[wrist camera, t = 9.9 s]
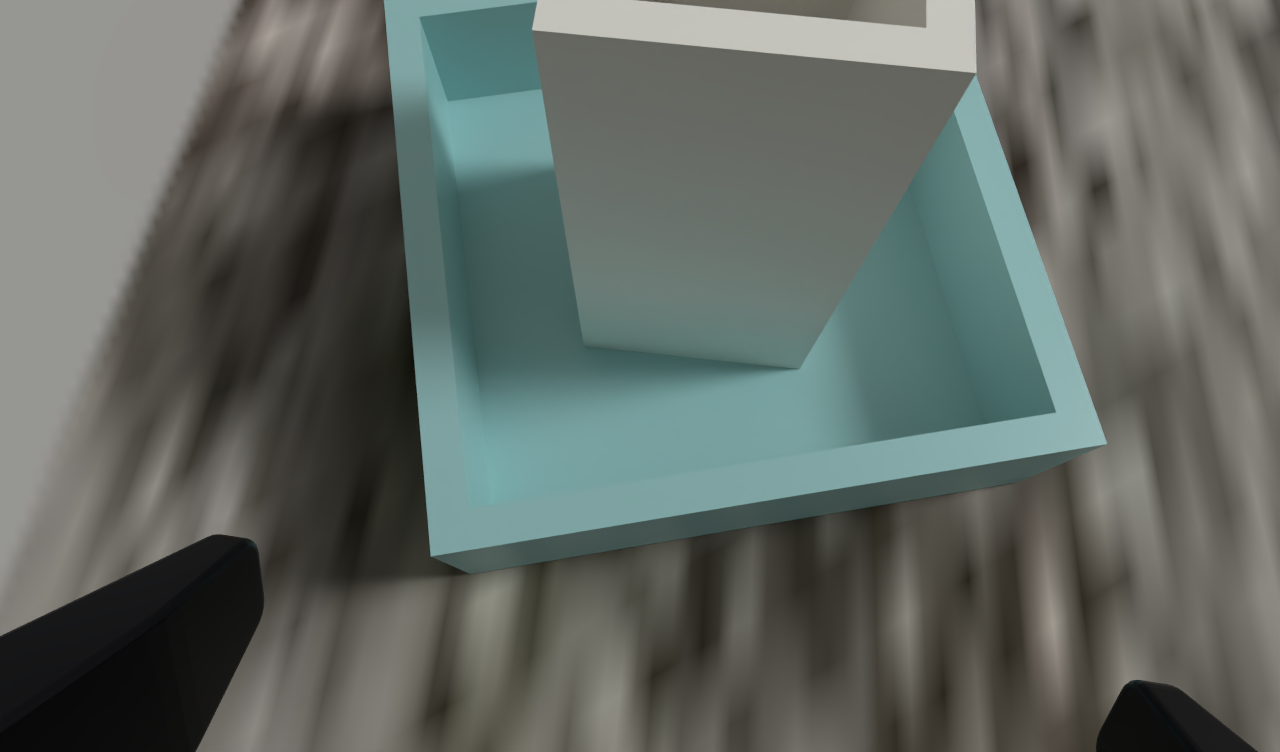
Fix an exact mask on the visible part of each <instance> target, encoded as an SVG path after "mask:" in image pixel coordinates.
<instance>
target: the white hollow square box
mask: <svg viewBox="0 0 1280 752" xmlns="http://www.w3.org/2000/svg"><path fill="white" fill-rule="evenodd" d="M532 34H533V40H534V46H535V52H536V58H537V64H538V70H539V76H540V82H541V88H542V94H543V101H544V107H545V113H546V119H547V125H548V131H549V137H550V143H551V149H552V155H553V161H554V167H555V174H556V180H557V186H558V192H559V198H560V204H561V210H562V216H563V222H564V228H565V234H566V240H567V247H568V253H569V259H570V265H571V271H572V277H573V283H574V289H575V295H576V301H577V307H578V313H579V320H580V326H581V332H582V338H583V344H584V346H588V347H597V348H606V349H615V350H625V351H634V352H643V353H653V354H662V355H671V356H681V357H690V358H699V359H709V360H718V361H727V362H737V363H746V364H755V365H765V366H774V367H783V368H793V369H800V367H801V366H802V364H803V362H804V361H805V359H806V357H807V356H808V354H809V352H810V351H811V349H812V347H813V346H814V344H815V342H816V341H817V339H818V337H819V336H820V334H821V332H822V330H823V329H824V327H825V325H826V324H827V322H828V320H829V319H830V317H831V315H832V314H833V312H834V310H835V309H836V307H837V305H838V304H839V302H840V300H841V299H842V297H843V295H844V294H845V292H846V290H847V289H848V287H849V285H850V284H851V282H852V280H853V279H854V277H855V275H856V274H857V272H858V270H859V269H860V267H861V265H862V264H863V262H864V260H865V259H866V257H867V255H868V254H869V252H870V250H871V249H872V247H873V245H874V244H875V242H876V240H877V239H878V237H879V235H880V233H881V232H882V230H883V228H884V227H885V225H886V223H887V222H888V220H889V218H890V217H891V215H892V213H893V212H894V210H895V208H896V207H897V205H898V203H899V202H900V200H901V198H902V197H903V195H904V193H905V192H906V190H907V188H908V187H909V185H910V183H911V182H912V180H913V178H914V177H915V175H916V173H917V172H918V170H919V168H920V167H921V165H922V163H923V162H924V160H925V158H926V157H927V155H928V153H929V152H930V150H931V148H932V147H933V145H934V143H935V142H936V140H937V138H938V136H939V135H940V133H941V131H942V130H943V128H944V126H945V125H946V123H947V121H948V120H949V118H950V116H951V115H952V113H953V111H954V110H955V108H956V106H957V105H958V103H959V101H960V100H961V98H962V96H963V95H964V93H965V91H966V90H967V88H968V86H969V85H970V83H971V81H972V80H973V78H974V76H975V75H976V33H975V0H537V6H536V11H535V16H534V22H533V27H532Z"/></svg>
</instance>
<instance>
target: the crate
mask: <svg viewBox="0 0 1280 752" xmlns="http://www.w3.org/2000/svg"><path fill="white" fill-rule="evenodd" d="M384 5H385V17H386V29H387V41H388V53H389V65H390V77H391V89H392V101H393V113H394V125H395V137H396V149H397V160H398V172H399V184H400V196H401V208H402V220H403V232H404V244H405V256H406V268H407V280H408V292H409V304H410V315H411V327H412V339H413V351H414V363H415V375H416V387H417V399H418V411H419V423H420V435H421V447H422V458H423V470H424V482H425V494H426V506H427V518H428V530H429V542H430V554H431V557H433V558H435V559H438V560H440V561H442V562H444V563H446V564H449V565H451V566H453V567H455V568H458V569H460V570H462V571H464V572H467V573H469V574H474V573H480V572H486V571H492V570H498V569H504V568H510V567H516V566H522V565H528V564H534V563H540V562H546V561H552V560H558V559H564V558H570V557H576V556H582V555H588V554H593V553H599V552H605V551H611V550H617V549H623V548H629V547H635V546H641V545H647V544H653V543H659V542H665V541H671V540H677V539H683V538H689V537H695V536H701V535H707V534H713V533H718V532H724V531H730V530H736V529H742V528H748V527H754V526H760V525H766V524H772V523H778V522H784V521H790V520H796V519H802V518H808V517H814V516H820V515H826V514H832V513H838V512H843V511H849V510H855V509H861V508H867V507H873V506H879V505H885V504H891V503H897V502H903V501H909V500H915V499H921V498H927V497H933V496H939V495H945V494H951V493H957V492H962V491H968V490H974V489H980V488H986V487H992V486H998V485H1004V484H1010V483H1016V482H1020V481H1022V480H1024V479H1027V478H1029V477H1031V476H1034V475H1036V474H1038V473H1041V472H1043V471H1045V470H1048V469H1050V468H1052V467H1055V466H1057V465H1059V464H1062V463H1064V462H1066V461H1069V460H1071V459H1073V458H1076V457H1078V456H1080V455H1083V454H1085V453H1087V452H1090V451H1092V450H1094V449H1097V448H1099V447H1101V446H1104V445H1106V444H1107V442H1106V439H1105V437H1104V434H1103V431H1102V428H1101V425H1100V422H1099V420H1098V417H1097V414H1096V411H1095V408H1094V406H1093V403H1092V400H1091V397H1090V394H1089V392H1088V389H1087V386H1086V383H1085V380H1084V378H1083V375H1082V372H1081V369H1080V366H1079V363H1078V361H1077V358H1076V355H1075V352H1074V349H1073V347H1072V344H1071V341H1070V338H1069V335H1068V333H1067V330H1066V327H1065V324H1064V321H1063V319H1062V316H1061V313H1060V310H1059V307H1058V305H1057V302H1056V299H1055V296H1054V293H1053V290H1052V288H1051V285H1050V282H1049V279H1048V276H1047V274H1046V271H1045V268H1044V265H1043V262H1042V260H1041V257H1040V254H1039V251H1038V248H1037V246H1036V243H1035V240H1034V237H1033V234H1032V231H1031V229H1030V226H1029V223H1028V220H1027V217H1026V215H1025V212H1024V209H1023V206H1022V203H1021V201H1020V198H1019V195H1018V192H1017V189H1016V187H1015V184H1014V181H1013V178H1012V175H1011V172H1010V170H1009V167H1008V164H1007V161H1006V158H1005V156H1004V153H1003V150H1002V147H1001V144H1000V142H999V139H998V136H997V133H996V130H995V128H994V125H993V122H992V119H991V116H990V113H989V111H988V108H987V105H986V102H985V99H984V97H983V94H982V91H981V88H980V85H979V83H978V80H977V77H976V75H975V76H974V78H973V80H972V81H971V83H970V85H969V86H968V88H967V90H966V91H965V93H964V95H963V96H962V98H961V100H960V101H959V103H958V105H957V106H956V108H955V110H954V111H953V113H952V115H951V116H950V118H949V120H948V121H947V123H946V125H945V126H944V128H943V130H942V131H941V133H940V135H939V136H938V138H937V140H936V142H935V143H934V145H933V147H932V148H931V150H930V152H929V153H928V155H927V157H926V158H925V160H924V162H923V163H922V165H921V167H920V168H919V170H918V172H917V173H916V175H915V177H914V178H913V180H912V182H911V183H910V185H909V187H908V188H907V190H906V192H905V193H904V195H903V197H902V198H901V200H900V202H899V203H898V205H897V207H896V208H895V210H894V212H893V213H892V215H891V217H890V218H889V220H888V222H887V223H886V225H885V227H884V228H883V230H882V232H881V233H880V235H879V237H878V239H877V240H876V242H875V244H874V245H873V247H872V249H871V250H870V252H869V254H868V255H867V257H866V259H865V260H864V262H863V264H862V265H861V267H860V269H859V270H858V272H857V274H856V275H855V277H854V279H853V280H852V282H851V284H850V285H849V287H848V289H847V290H846V292H845V294H844V295H843V297H842V299H841V300H840V302H839V304H838V305H837V307H836V309H835V310H834V312H833V314H832V315H831V317H830V319H829V320H828V322H827V324H826V325H825V327H824V329H823V330H822V332H821V334H820V336H819V337H818V339H817V341H816V342H815V344H814V346H813V347H812V349H811V351H810V352H809V354H808V356H807V357H806V359H805V361H804V362H803V364H802V366H801V367H800V369H793V368H783V367H774V366H765V365H755V364H746V363H737V362H727V361H718V360H709V359H699V358H690V357H681V356H671V355H662V354H653V353H643V352H634V351H625V350H615V349H606V348H597V347H588V346H584V344H583V338H582V332H581V326H580V320H579V313H578V307H577V301H576V295H575V289H574V283H573V277H572V271H571V265H570V259H569V253H568V247H567V240H566V234H565V228H564V222H563V216H562V210H561V204H560V198H559V192H558V186H557V180H556V174H555V167H554V161H553V155H552V149H551V143H550V137H549V131H548V125H547V119H546V113H545V107H544V101H543V94H542V88H541V82H540V76H539V70H538V64H537V58H536V52H535V46H534V40H533V34H532V27H533V22H534V16H535V11H536V6H537V0H384Z"/></svg>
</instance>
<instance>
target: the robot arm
mask: <svg viewBox="0 0 1280 752" xmlns="http://www.w3.org/2000/svg"><path fill="white" fill-rule="evenodd" d="M263 608H264V592H263V584H262V575H261V567H260V559H259V552H258V548H257V546H256V544H255V543H254V542H253V541H252V540H250V539H247V538H240V537H234V536H228V535H211V536H209V537H206V538H204V539H202V540H200V541H198V542H196V543H194V544H192V545H190V546H187V547H185V548H183V549H181V550H179V551H177V552H175V553H173V554H171V555H169V556H167V557H164V558H162V559H160V560H158V561H156V562H154V563H152V564H150V565H148V566H146V567H144V568H142V569H139V570H137V571H135V572H133V573H131V574H129V575H127V576H125V577H123V578H121V579H119V580H116V581H114V582H112V583H110V584H108V585H106V586H104V587H102V588H100V589H98V590H96V591H94V592H91V593H89V594H87V595H85V596H83V597H81V598H79V599H77V600H75V601H73V602H71V603H68V604H66V605H64V606H62V607H60V608H58V609H56V610H54V611H52V612H50V613H48V614H46V615H43V616H41V617H39V618H37V619H35V620H33V621H31V622H29V623H27V624H25V625H23V626H20V627H18V628H16V629H14V630H12V631H10V632H8V633H6V634H4V635H2V636H0V752H196V750H197V748H198V746H199V744H200V742H201V740H202V738H203V736H204V735H205V733H206V730H207V728H208V726H209V724H210V722H211V720H212V718H213V716H214V714H215V712H216V710H217V708H218V706H219V704H220V702H221V700H222V698H223V696H224V694H225V692H226V690H227V688H228V686H229V684H230V682H231V679H232V677H233V675H234V673H235V671H236V669H237V667H238V665H239V663H240V661H241V659H242V657H243V655H244V653H245V651H246V649H247V647H248V645H249V643H250V641H251V639H252V637H253V635H254V633H255V631H256V628H257V626H258V624H259V622H260V620H261V616H262V613H263ZM1096 752H1258V751H1256V750H1255V749H1254V748H1253V747H1251V746H1250V745H1249V744H1248V743H1246V742H1245V741H1244V740H1243V739H1241V738H1240V737H1239V736H1238V735H1236V734H1235V733H1234V732H1233V731H1231V730H1230V729H1229V728H1228V727H1226V726H1225V725H1224V724H1223V723H1222V722H1220V721H1219V720H1218V719H1217V718H1215V717H1214V716H1213V715H1212V714H1210V713H1209V712H1208V711H1207V710H1205V709H1204V708H1203V707H1202V706H1200V705H1199V704H1198V703H1197V702H1195V701H1194V700H1193V699H1192V698H1190V697H1189V696H1188V695H1187V694H1185V693H1184V692H1183V691H1181V690H1180V689H1178V688H1176V687H1174V686H1171V685H1168V684H1162V683H1155V682H1149V681H1143V680H1133V681H1130V682H1129V683H1127V684H1126V685H1125V686H1124V687H1123V689H1122V690H1121V692H1120V694H1119V696H1118V698H1117V700H1116V702H1115V703H1114V705H1113V707H1112V709H1111V711H1110V713H1109V715H1108V717H1107V718H1106V720H1105V722H1104V724H1103V726H1102V728H1101V730H1100V732H1099V734H1098V738H1097V743H1096Z"/></svg>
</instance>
